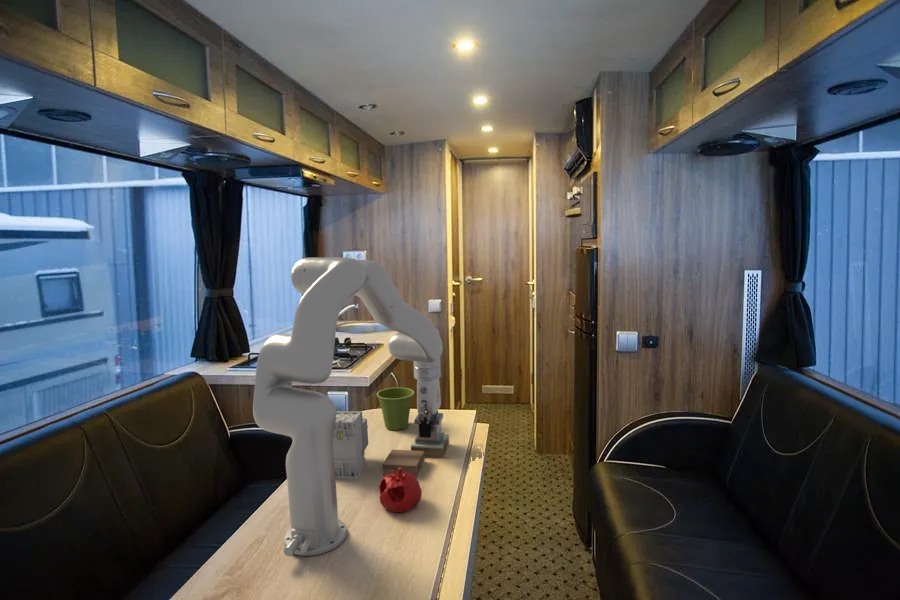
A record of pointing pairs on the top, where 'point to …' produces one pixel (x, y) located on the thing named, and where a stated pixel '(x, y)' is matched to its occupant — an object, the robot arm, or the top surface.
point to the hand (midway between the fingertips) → (429, 430)
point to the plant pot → (395, 406)
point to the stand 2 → (432, 448)
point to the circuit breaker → (349, 443)
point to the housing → (435, 430)
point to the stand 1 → (404, 462)
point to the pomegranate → (399, 491)
